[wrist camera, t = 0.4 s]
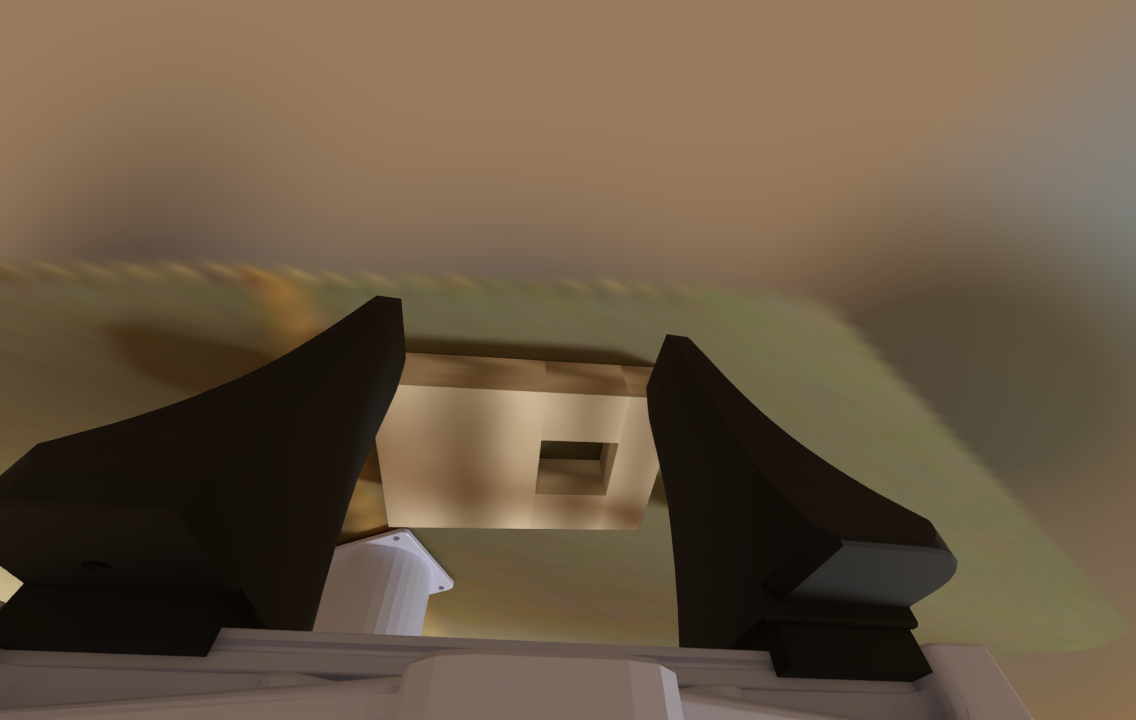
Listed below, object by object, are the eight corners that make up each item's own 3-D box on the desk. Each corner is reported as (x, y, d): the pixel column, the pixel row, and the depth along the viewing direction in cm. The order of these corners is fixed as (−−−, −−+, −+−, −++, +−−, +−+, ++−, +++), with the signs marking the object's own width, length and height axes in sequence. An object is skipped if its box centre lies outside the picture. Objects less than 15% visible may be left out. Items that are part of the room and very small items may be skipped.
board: (400, 488, 30) (388, 526, 27) (384, 351, 24) (367, 383, 21) (630, 494, 32) (638, 530, 29) (666, 368, 26) (681, 399, 24)
